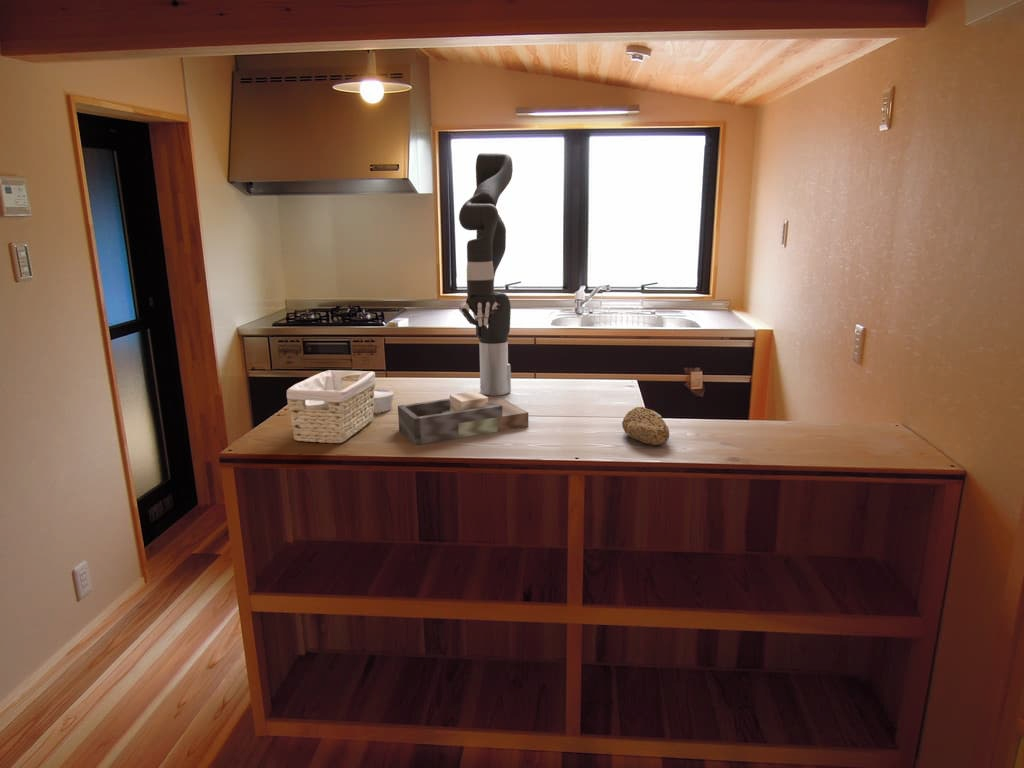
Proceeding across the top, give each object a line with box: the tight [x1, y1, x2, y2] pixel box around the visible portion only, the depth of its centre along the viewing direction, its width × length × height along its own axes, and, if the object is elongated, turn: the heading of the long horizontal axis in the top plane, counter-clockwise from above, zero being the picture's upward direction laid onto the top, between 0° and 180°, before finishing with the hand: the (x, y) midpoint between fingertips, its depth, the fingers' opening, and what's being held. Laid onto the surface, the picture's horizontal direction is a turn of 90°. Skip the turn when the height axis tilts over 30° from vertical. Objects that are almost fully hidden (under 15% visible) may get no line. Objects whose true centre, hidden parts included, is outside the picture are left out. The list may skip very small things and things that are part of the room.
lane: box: [397, 398, 529, 446], centre depth 190 cm, size 33×14×7 cm, turn 117°
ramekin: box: [373, 388, 395, 414], centre depth 209 cm, size 11×11×5 cm
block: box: [449, 390, 489, 412], centre depth 190 cm, size 8×8×5 cm
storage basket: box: [286, 369, 376, 444], centre depth 189 cm, size 24×16×15 cm
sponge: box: [621, 406, 670, 446], centre depth 181 cm, size 13×8×20 cm
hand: (481, 338), depth 196 cm, fingers closed
